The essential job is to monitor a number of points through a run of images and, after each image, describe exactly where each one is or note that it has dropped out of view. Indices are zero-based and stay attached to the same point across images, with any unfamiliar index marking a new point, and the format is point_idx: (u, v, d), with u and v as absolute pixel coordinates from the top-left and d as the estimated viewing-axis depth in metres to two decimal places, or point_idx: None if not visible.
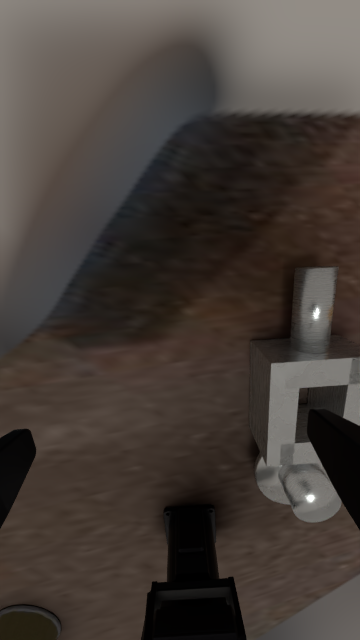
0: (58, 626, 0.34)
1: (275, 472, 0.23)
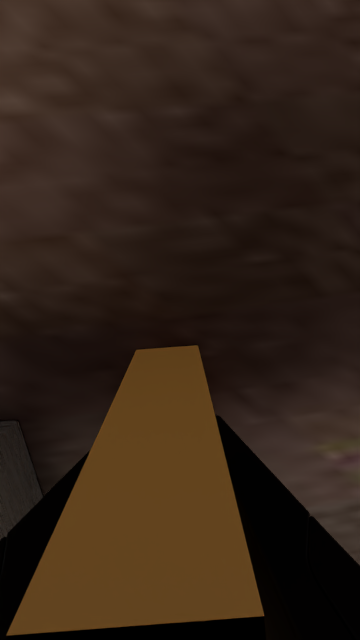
0: None
1: None
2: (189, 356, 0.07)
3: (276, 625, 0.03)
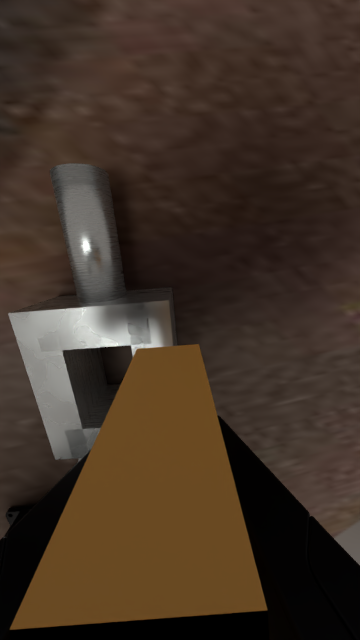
0: None
1: None
2: (191, 355, 0.07)
3: (276, 625, 0.03)
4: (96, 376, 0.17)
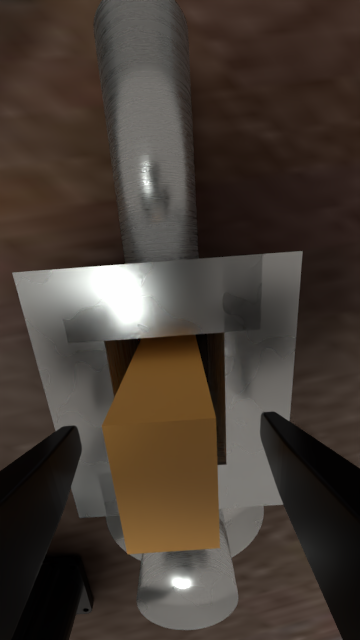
0: None
1: None
2: None
3: None
4: None
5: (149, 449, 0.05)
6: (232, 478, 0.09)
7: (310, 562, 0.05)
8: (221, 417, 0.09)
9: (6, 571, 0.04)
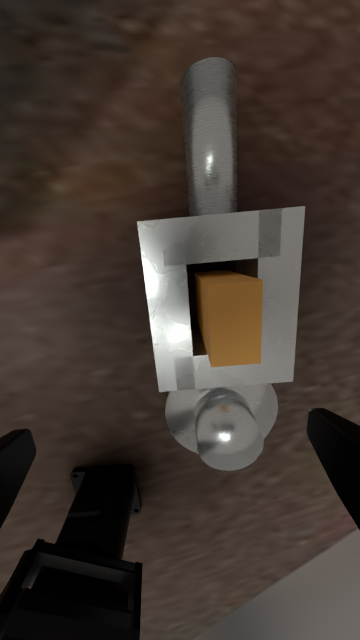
0: None
1: (190, 411, 0.17)
2: (222, 270, 0.16)
3: None
4: None
5: (229, 298, 0.10)
6: None
7: None
8: None
9: None
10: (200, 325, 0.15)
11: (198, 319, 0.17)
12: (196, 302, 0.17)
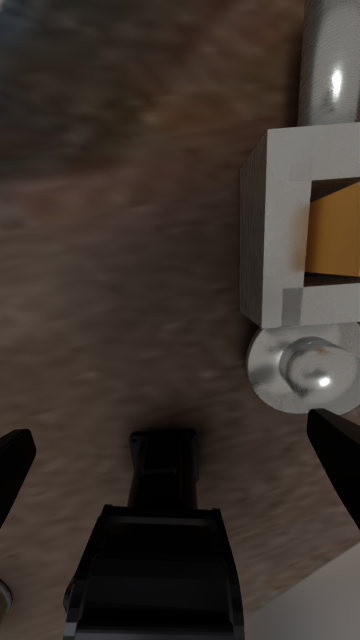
0: (7, 596, 0.27)
1: (274, 361, 0.16)
2: None
3: None
4: None
5: None
6: None
7: None
8: None
9: None
10: None
11: None
12: None
